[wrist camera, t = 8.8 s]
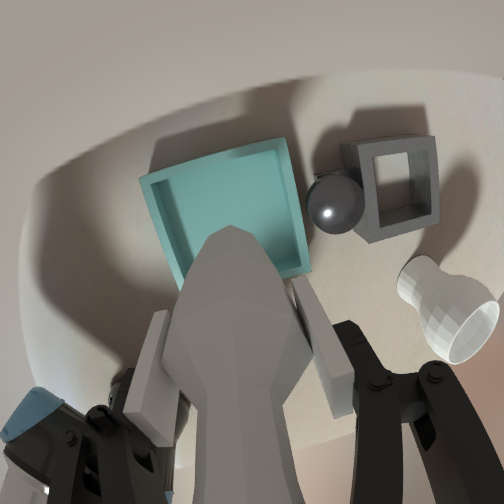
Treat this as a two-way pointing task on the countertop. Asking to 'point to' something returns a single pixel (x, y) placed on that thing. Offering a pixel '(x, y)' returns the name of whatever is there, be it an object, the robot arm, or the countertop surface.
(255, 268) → the grey faceted bottle
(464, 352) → the cup
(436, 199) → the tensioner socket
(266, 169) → the tray
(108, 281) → the countertop surface
